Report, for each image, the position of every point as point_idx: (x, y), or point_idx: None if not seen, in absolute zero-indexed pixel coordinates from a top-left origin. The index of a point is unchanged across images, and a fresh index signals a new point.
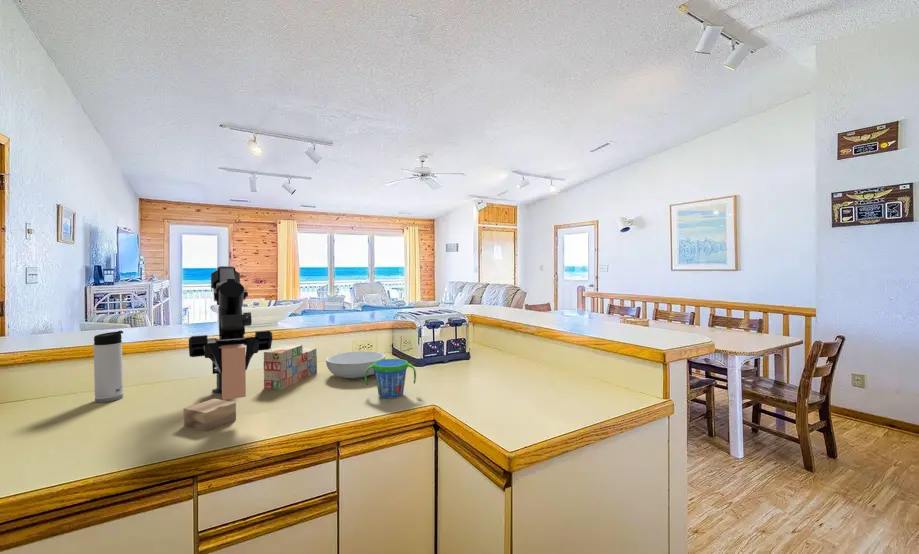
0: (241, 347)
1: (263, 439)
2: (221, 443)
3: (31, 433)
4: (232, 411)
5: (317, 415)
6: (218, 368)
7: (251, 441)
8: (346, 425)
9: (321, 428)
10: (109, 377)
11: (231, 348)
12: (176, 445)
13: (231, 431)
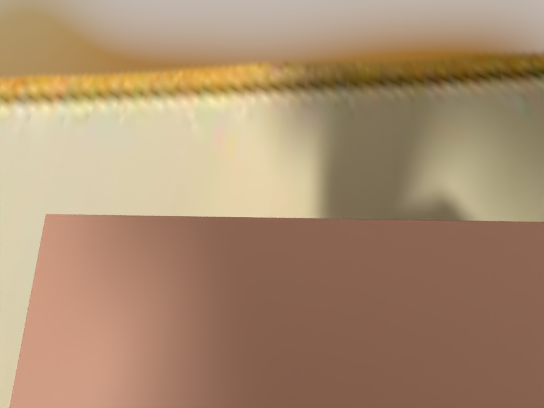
0: (123, 242)
1: (246, 93)
2: (365, 125)
3: None
4: None
5: (48, 210)
6: None
7: (280, 95)
8: (20, 77)
9: (84, 91)
10: None
11: (370, 229)
12: (507, 185)
13: (330, 217)
